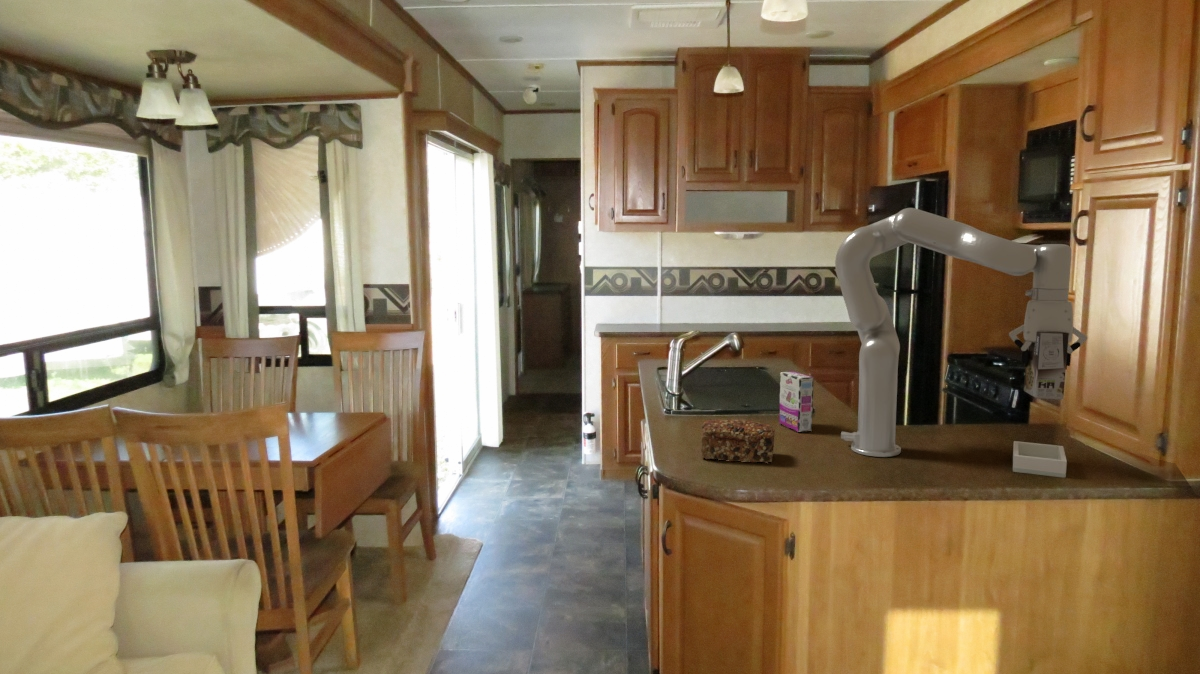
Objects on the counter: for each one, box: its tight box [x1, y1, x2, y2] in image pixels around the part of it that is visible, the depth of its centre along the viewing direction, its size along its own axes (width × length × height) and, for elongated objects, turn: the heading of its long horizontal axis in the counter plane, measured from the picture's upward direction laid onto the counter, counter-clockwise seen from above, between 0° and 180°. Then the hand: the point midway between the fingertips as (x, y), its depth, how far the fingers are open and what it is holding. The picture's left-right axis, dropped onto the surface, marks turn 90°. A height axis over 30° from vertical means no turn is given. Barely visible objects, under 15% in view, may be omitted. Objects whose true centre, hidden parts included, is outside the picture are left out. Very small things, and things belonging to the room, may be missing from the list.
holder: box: [1012, 440, 1068, 479], centre depth 189 cm, size 11×14×4 cm
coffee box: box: [1023, 332, 1069, 400], centre depth 185 cm, size 9×6×16 cm
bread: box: [700, 418, 776, 463], centre depth 201 cm, size 19×11×10 cm, turn 75°
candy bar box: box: [778, 370, 815, 433], centre depth 227 cm, size 11×5×16 cm, turn 18°
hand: (1045, 367), depth 185 cm, fingers closed on coffee box, 7 cm apart
